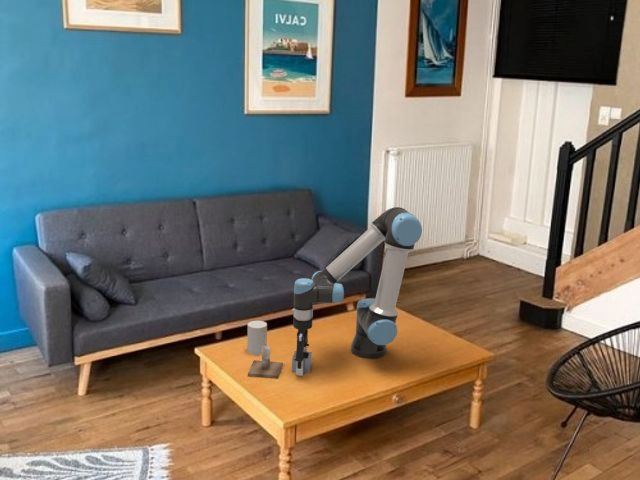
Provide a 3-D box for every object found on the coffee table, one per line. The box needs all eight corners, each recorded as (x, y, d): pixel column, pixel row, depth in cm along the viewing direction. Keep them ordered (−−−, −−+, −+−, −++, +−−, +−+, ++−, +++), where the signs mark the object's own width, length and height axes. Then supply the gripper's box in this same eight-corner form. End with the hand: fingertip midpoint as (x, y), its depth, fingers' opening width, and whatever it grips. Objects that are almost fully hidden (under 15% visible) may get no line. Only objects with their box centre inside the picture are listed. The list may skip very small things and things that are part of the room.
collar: (311, 365, 276) (311, 352, 274) (309, 373, 269) (309, 359, 268) (294, 364, 276) (294, 350, 275) (291, 372, 270) (292, 358, 268)
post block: (282, 365, 275) (283, 341, 273) (278, 378, 264) (278, 354, 261) (253, 362, 277) (253, 339, 274) (247, 376, 265) (247, 352, 262)
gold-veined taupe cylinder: (263, 355, 284) (263, 329, 280) (244, 353, 285) (245, 326, 282) (268, 347, 291) (269, 321, 288) (250, 345, 293) (250, 319, 290)
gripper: (297, 306, 279) (296, 355, 284) (288, 328, 256) (287, 381, 262) (315, 307, 278) (314, 356, 284) (308, 329, 255) (307, 382, 261)
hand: (301, 368), depth 273 cm, fingers open, 11 cm apart
